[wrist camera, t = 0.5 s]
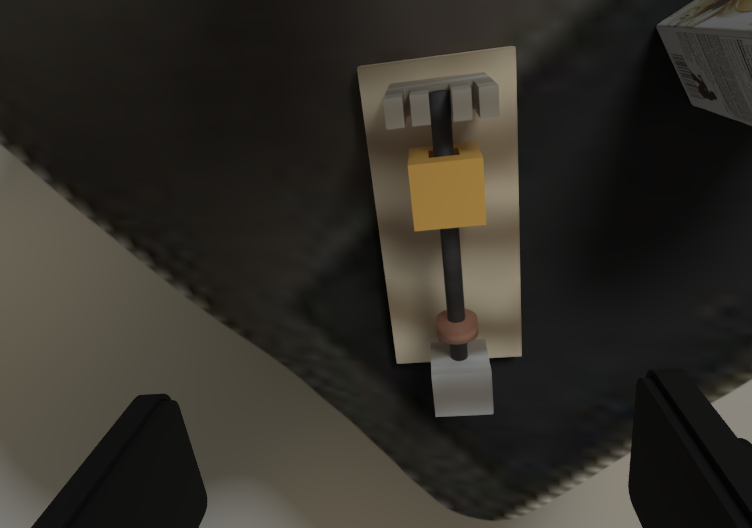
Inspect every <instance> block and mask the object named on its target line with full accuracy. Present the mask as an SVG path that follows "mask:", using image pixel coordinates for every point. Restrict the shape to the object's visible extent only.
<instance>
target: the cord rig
mask: <svg viewBox="0 0 752 528" xmlns="http://www.w3.org/2000/svg"><path fill="white" fill-rule="evenodd" d="M357 72H358V80H359V87H360V94H361V102H362V109H363V117H364V124H365V131H366V139H367V146H368V154H369V161H370V168H371V176H372V183H373V191H374V198H375V205H376V213H377V220H378V228H379V235H380V242H381V250H382V257H383V265H384V272H385V279H386V287H387V294H388V302H389V309H390V316H391V324H392V331H393V338H394V346H395V353H396V361H397V364H403V363H419V362H431V377H432V386H433V396H434V406H435V415H436V417H445V416H466V415H486V414H493V393H492V372H491V367H490V362H489V358H500V357H516V356H522V344H521V291H520V239H519V187H518V134H517V82H516V47H514V46H508V47H500V48H492V49H485V50H477V51H470V52H462V53H454V54H447V55H439V56H432V57H424V58H416V59H409V60H401V61H394V62H386V63H379V64H371V65H363V66H359V67H358V68H357ZM473 141H476V142H477V144H478V146H479V149H480V151H481V153H482V156H483V163H484V184H485V206H486V225H480V226H469V227H458V228H447V229H436V230H425V231H414V221H413V212H412V203H411V193H410V184H409V174H408V155H409V149H410V148H419V147H428V146H433V154H434V157H443V156H452V155H454V147H453V144H455V143H464V142H473Z"/></svg>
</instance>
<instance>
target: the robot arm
mask: <svg viewBox="0 0 752 528" xmlns="http://www.w3.org/2000/svg"><path fill="white" fill-rule="evenodd" d="M628 487H629V494H630V499H631V502H632V505H633V507H634V509H635V512H636V514H637V516H638V518H639V521H640V523H641V525H642V527H643V528H752V444H751V443H750V442H749V441H747V440H745V439H743V438H737V437H736V436H735V434H734V433H733V432H732V431H731V429H730V428H729V427H728V425H727V424H726V423H725V421H724V420H723V419H722V418H721V416H720V415H719V414H718V413H717V411H716V410H715V409H714V407H713V406H712V405H711V404H710V402H709V401H708V400H707V398H706V397H705V396H704V395H703V393H702V392H701V391H700V390H699V388H698V387H697V386H696V384H695V383H694V382H693V381H692V379H691V378H690V377H689V375H688V374H687V373H686V372H685V371H684V370H683V369H680V368H675V369H655V370H649V371H648V372H647V374H646V378H639V379H638V380H637V385H636V397H635V409H634V421H633V434H632V446H631V459H630V472H629V485H628ZM206 508H207V494H206V491H205V488H204V484H203V481H202V478H201V475H200V471H199V468H198V465H197V462H196V459H195V456H194V452H193V449H192V446H191V443H190V440H189V436H188V433H187V430H186V427H185V424H184V421H183V417H182V414H181V411H180V408H179V405H178V403H177V402H176V401H174V400H171V398H170V397H169V396H168V395H166V394H152V395H151V394H150V395H139V396H137V397H136V398H135V399H134V400H133V402H131V404H130V405H129V406H128V407H127V409H126V410H125V411H124V412H123V414H122V415H121V416H120V418H119V419H118V420H117V421H116V422H115V424H114V425H113V426H112V427H111V429H110V430H109V431H108V432H107V434H106V435H105V436H104V437H103V439H102V440H101V441H100V442H99V444H98V445H97V446H96V447H95V449H94V450H93V451H92V452H91V454H90V455H89V456H88V457H87V459H86V460H85V461H84V462H83V464H82V465H81V466H80V467H79V468H78V470H77V471H76V472H75V474H74V475H73V476H72V477H71V479H70V480H69V481H68V482H67V484H66V485H65V486H64V487H63V488H62V490H61V491H60V492H59V493H58V495H57V496H56V497H55V498H54V500H53V501H52V502H51V504H50V505H49V506H48V507H47V508H46V510H45V511H44V512H43V514H42V515H41V516H40V517H39V518H38V520H37V521H36V522H35V523H34V525H33V526H32V527H31V528H199V525H200V523H201V521H202V519H203V516H204V514H205V512H206Z"/></svg>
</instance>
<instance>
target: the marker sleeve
mask: <svg viewBox="0 0 752 528" xmlns="http://www.w3.org/2000/svg"><path fill="white" fill-rule="evenodd" d="M453 147H454V155H452V156H443V157H434V154H433V146H428V147H419V148H410V149H409V155H408V174H409V184H410V193H411V203H412V212H413V221H414V231H425V230H436V229H447V228H458V227H469V226H480V225H486V206H485V184H484V163H483V156H482V153H481V151H480V149H479V146H478V144H477V142H476V141H473V142H464V143H455V144H453Z"/></svg>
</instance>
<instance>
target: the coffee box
mask: <svg viewBox="0 0 752 528" xmlns="http://www.w3.org/2000/svg"><path fill="white" fill-rule="evenodd" d="M656 28H657V30H658V32H659V35H660V37H661V39H662V41H663V43H664V46H665V48H666V50H667V52H668V54H669V57H670V59H671V61H672V63H673V65H674V67H675V70H676V72H677V74H678V76H679V78H680V80H681V83H682V85H683V87H684V89H685V91H686V93H687V95H688V98H689V100H690V102H691V104H692V105H693V106H696V107H699V108H703V109H705V110H708V111H711V112H714V113H716V114H719V115H722V116H725V117H728V118H730V119H734V120H736V121H739V122H742V123H745V124H747V125H750V126H752V0H694V1H692V2H691V3H689V4H688V5H686V6H685V7H683V8H682V9H680V10H679V11H677V12H676V13H674V14H672V15H671V16H669V17H668V18H666V19H665V20H663V21H662V22H660V23H659V24H657V26H656Z"/></svg>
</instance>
